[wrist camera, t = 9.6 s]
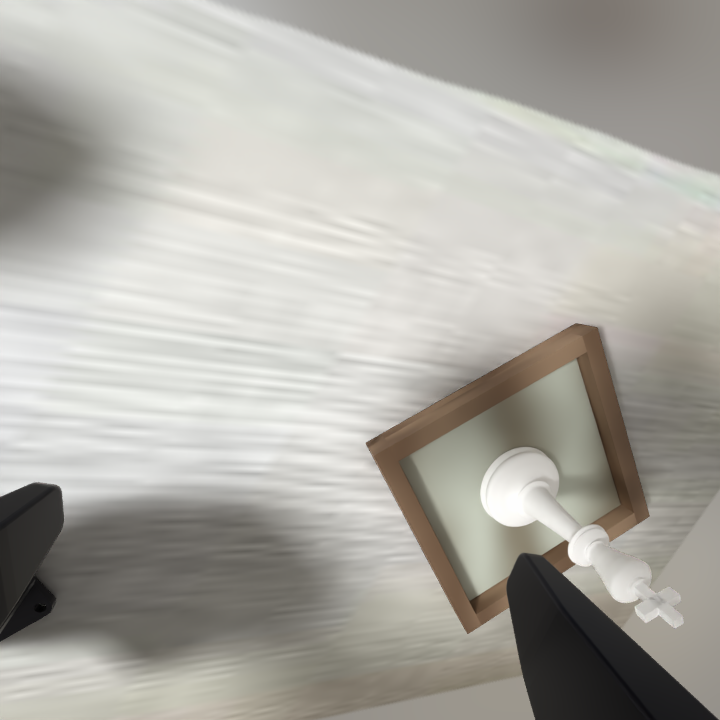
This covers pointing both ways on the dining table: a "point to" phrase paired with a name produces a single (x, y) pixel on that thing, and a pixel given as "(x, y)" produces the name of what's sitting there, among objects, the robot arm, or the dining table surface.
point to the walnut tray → (492, 439)
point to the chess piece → (570, 530)
